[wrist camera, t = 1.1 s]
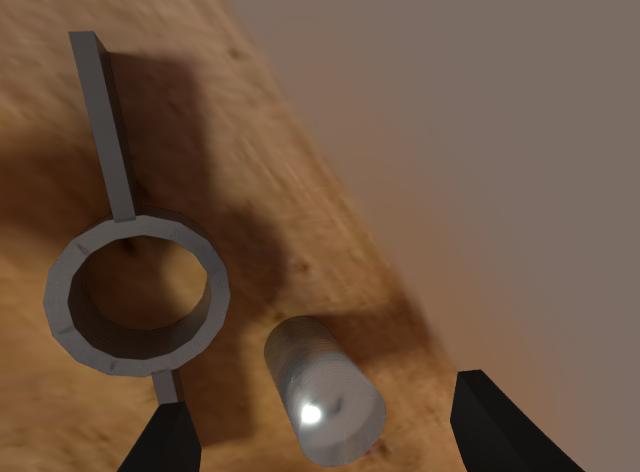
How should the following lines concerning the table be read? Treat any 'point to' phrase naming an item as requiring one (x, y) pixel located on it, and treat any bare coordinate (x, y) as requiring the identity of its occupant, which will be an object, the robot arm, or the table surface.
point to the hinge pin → (323, 392)
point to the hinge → (126, 221)
